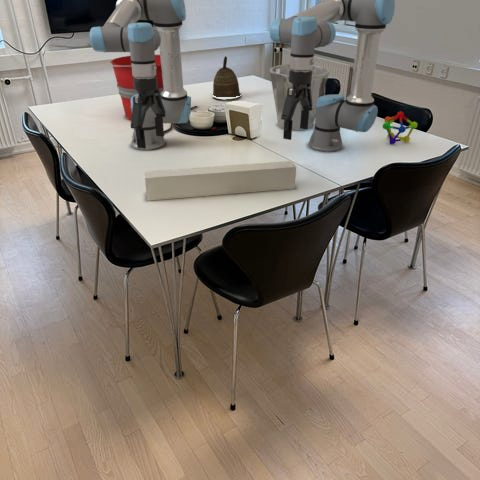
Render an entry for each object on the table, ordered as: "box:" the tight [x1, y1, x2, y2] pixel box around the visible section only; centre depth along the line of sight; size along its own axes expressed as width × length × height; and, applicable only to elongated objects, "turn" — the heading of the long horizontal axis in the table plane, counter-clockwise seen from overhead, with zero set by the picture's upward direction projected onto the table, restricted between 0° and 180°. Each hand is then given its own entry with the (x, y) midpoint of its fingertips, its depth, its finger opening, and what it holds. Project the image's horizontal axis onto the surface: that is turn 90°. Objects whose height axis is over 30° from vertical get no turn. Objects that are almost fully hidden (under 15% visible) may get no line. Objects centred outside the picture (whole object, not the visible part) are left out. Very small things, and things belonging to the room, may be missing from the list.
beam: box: [144, 160, 297, 202], centre depth 163 cm, size 55×6×9 cm, turn 101°
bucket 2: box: [269, 63, 330, 131], centre depth 226 cm, size 30×30×28 cm
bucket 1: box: [107, 54, 164, 121], centre depth 239 cm, size 35×35×30 cm
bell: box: [212, 56, 242, 97], centre depth 278 cm, size 19×26×20 cm
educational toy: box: [382, 110, 418, 145], centre depth 207 cm, size 16×13×15 cm
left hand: (151, 141), depth 152 cm, fingers open, 13 cm apart
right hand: (295, 133), depth 155 cm, fingers open, 13 cm apart
